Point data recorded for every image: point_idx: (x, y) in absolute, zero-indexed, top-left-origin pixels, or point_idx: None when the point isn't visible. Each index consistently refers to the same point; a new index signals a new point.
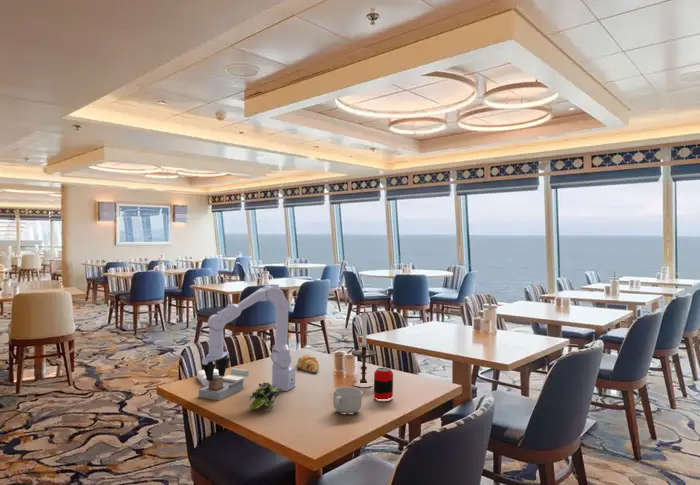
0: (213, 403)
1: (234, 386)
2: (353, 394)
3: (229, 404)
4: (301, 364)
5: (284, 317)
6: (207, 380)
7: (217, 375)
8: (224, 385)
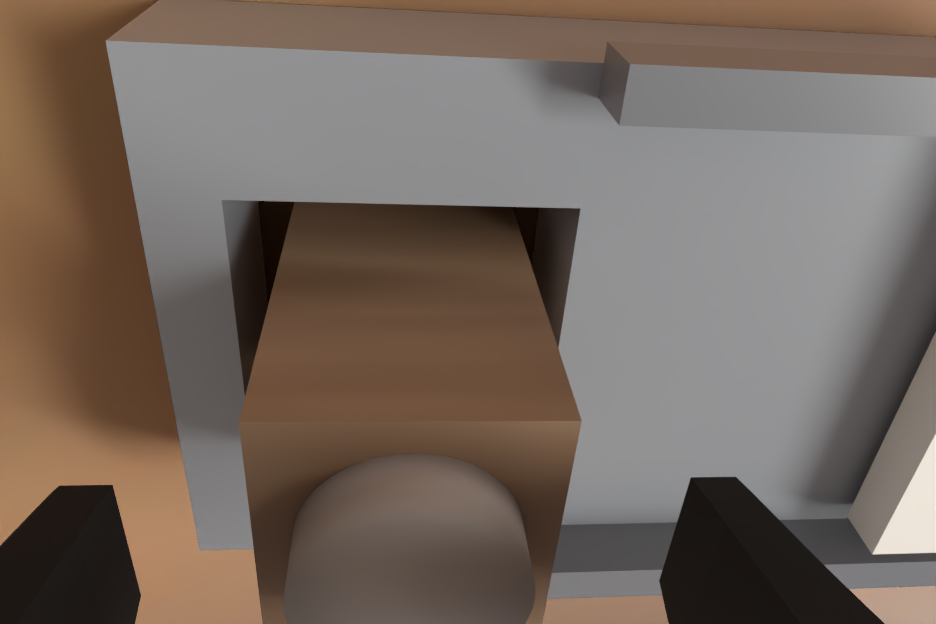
0: (64, 450)
1: (670, 529)
2: None
3: (175, 614)
4: None
5: None
6: (51, 509)
7: (495, 598)
8: (653, 394)
